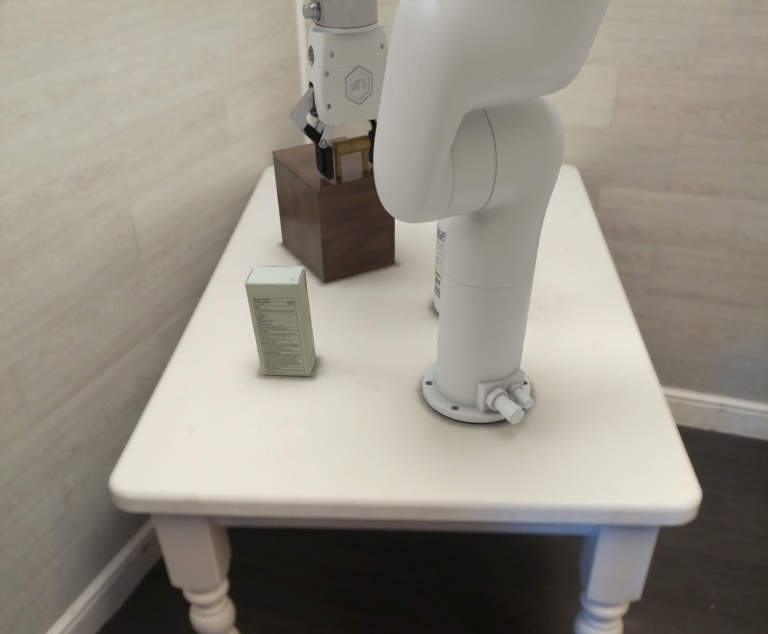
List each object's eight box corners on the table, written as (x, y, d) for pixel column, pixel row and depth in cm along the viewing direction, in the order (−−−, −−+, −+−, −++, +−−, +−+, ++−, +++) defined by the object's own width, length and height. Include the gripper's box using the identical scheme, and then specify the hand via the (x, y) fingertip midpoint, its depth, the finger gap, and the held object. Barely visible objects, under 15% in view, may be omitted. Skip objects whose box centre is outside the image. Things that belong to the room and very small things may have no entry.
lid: (398, 176, 98) (398, 135, 94) (320, 194, 94) (316, 151, 90) (345, 142, 108) (343, 103, 104) (272, 156, 104) (268, 117, 100)
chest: (395, 264, 108) (395, 174, 99) (324, 283, 104) (317, 192, 95) (349, 227, 117) (345, 142, 108) (282, 243, 113) (272, 157, 104)
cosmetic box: (316, 357, 90) (308, 265, 82) (310, 377, 87) (301, 284, 79) (266, 355, 91) (252, 263, 82) (258, 375, 88) (243, 281, 79)
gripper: (290, 27, 79) (304, 193, 91) (425, 8, 85) (421, 167, 97) (263, 14, 83) (281, 174, 96) (393, -3, 89) (393, 150, 102)
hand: (351, 169), depth 97 cm, fingers open, 6 cm apart
